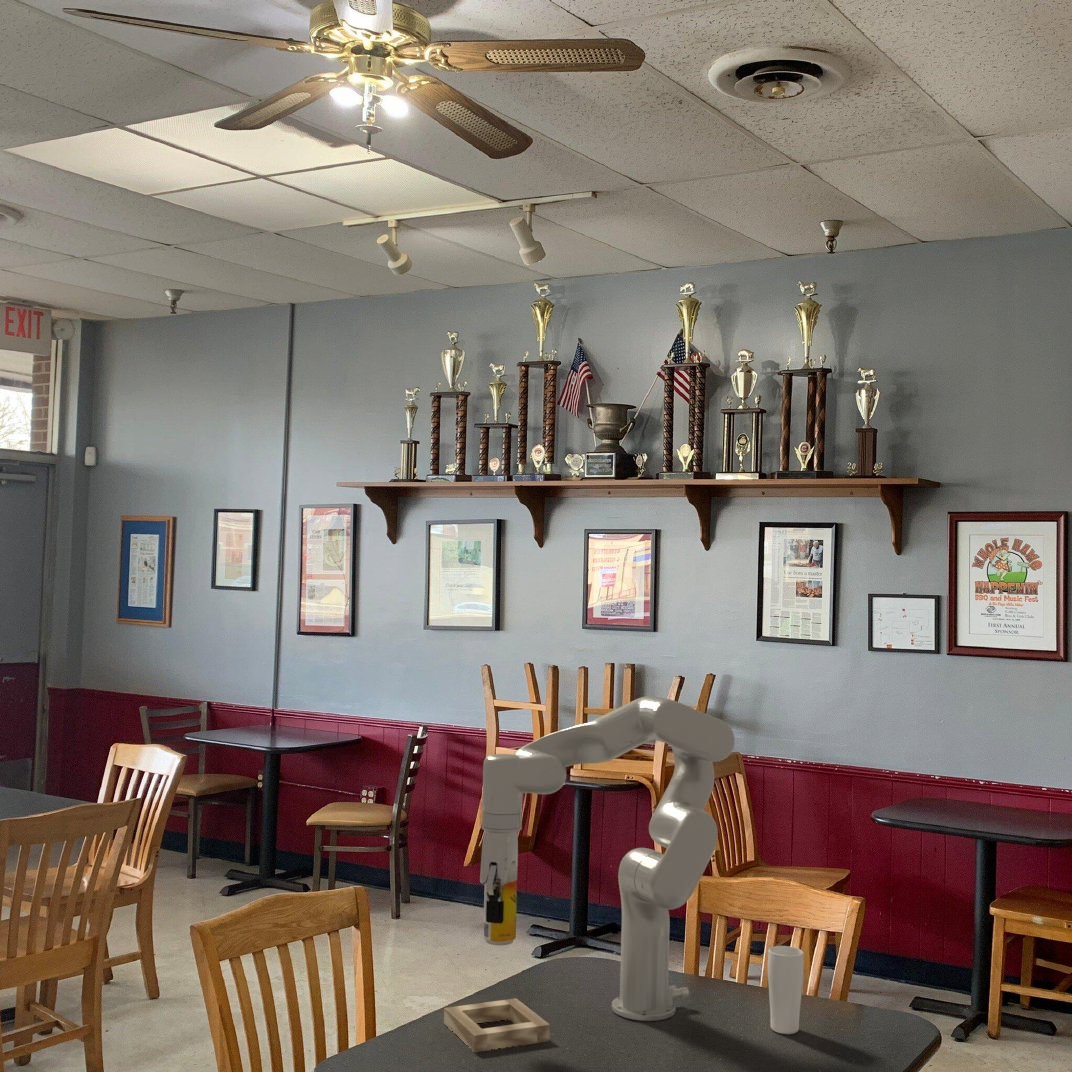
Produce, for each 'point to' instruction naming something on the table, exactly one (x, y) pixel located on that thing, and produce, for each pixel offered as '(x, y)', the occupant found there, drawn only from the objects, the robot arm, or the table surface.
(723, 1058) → the table surface
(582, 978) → the table surface
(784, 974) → the drinking glass
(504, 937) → the beer can
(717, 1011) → the table surface
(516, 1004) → the can holder
